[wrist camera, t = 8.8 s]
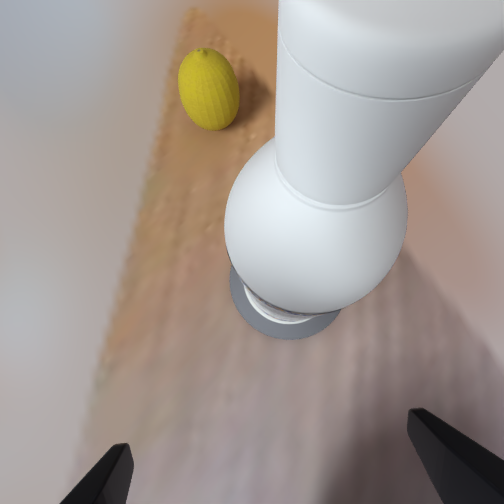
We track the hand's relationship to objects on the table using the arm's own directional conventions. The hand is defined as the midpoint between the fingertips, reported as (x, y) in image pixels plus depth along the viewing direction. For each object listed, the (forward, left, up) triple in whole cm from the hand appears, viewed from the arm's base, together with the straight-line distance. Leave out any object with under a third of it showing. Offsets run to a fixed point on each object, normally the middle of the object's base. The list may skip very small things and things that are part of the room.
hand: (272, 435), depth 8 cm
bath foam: (+7, -3, -13) cm, 15 cm away
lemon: (+25, +1, -13) cm, 28 cm away
